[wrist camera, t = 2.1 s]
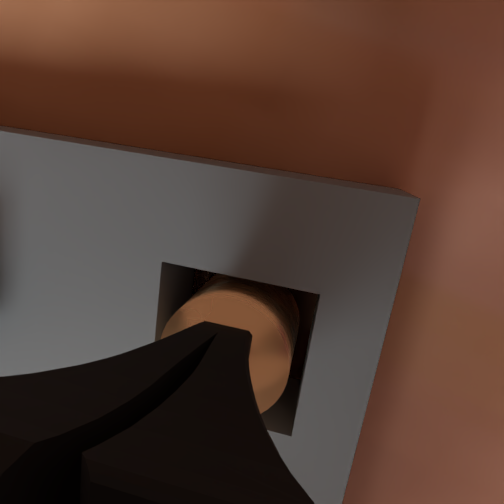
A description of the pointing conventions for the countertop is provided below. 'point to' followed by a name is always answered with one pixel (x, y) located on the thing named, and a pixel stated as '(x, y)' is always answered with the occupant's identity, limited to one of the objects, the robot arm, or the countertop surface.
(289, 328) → the push button
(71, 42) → the countertop surface
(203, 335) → the robot arm
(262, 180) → the panel
